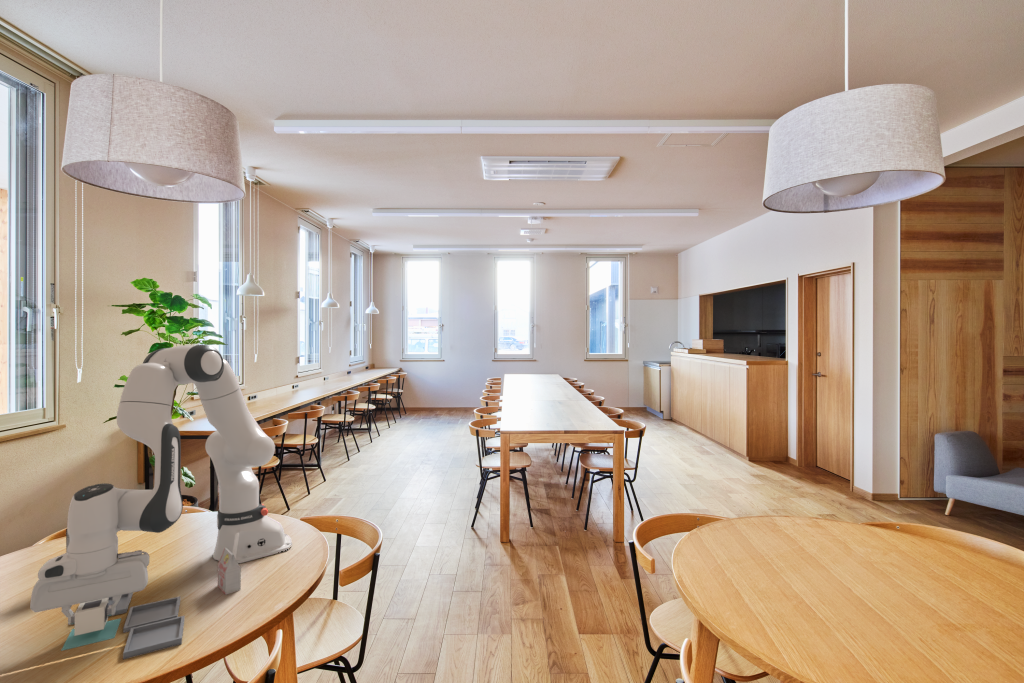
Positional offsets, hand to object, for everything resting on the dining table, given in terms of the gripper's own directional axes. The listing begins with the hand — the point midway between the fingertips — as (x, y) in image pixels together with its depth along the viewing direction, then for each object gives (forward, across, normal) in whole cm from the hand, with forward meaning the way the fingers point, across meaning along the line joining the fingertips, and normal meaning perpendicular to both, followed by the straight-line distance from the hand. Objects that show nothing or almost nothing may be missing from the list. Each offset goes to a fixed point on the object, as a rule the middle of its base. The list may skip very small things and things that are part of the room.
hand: (92, 618), depth 110 cm
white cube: (+2, 0, 0) cm, 2 cm away
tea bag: (+4, -27, -9) cm, 29 cm away
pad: (+4, 0, 0) cm, 4 cm away
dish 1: (+4, 0, -12) cm, 13 cm away
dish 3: (+4, -13, +9) cm, 16 cm away
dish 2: (+4, -11, -2) cm, 12 cm away
